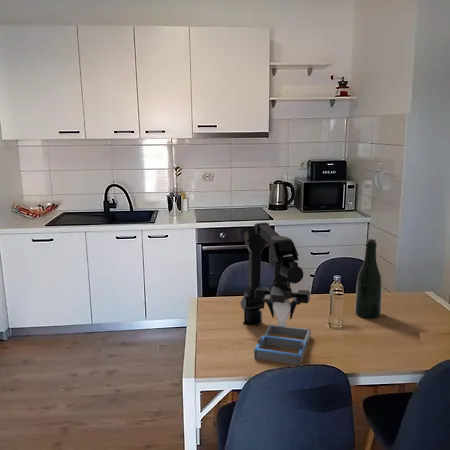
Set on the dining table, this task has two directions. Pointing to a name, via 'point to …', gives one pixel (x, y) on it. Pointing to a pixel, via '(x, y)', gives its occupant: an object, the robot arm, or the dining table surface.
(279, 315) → the light bulb
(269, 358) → the tray organiser
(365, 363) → the dining table surface
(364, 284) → the green wine bottle
